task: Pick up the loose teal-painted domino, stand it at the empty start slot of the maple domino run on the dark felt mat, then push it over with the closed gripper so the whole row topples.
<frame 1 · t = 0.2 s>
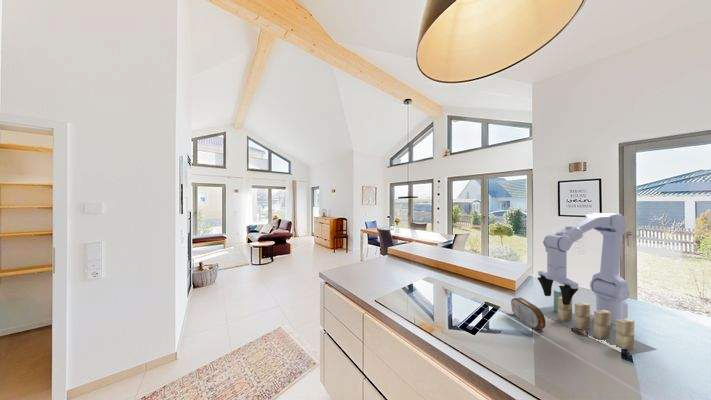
hand: (556, 299, 90), 10 cm above the worktop, fingers open, 7 cm apart
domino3: (582, 327, 88), resting on felt mat
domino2: (564, 319, 94), resting on felt mat
domino4: (602, 336, 82), resting on felt mat
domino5: (624, 347, 76), resting on felt mat
felt mat: (584, 327, 89), on the worktop
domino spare: (560, 310, 101), resting on felt mat
tin: (526, 323, 92), on the worktop
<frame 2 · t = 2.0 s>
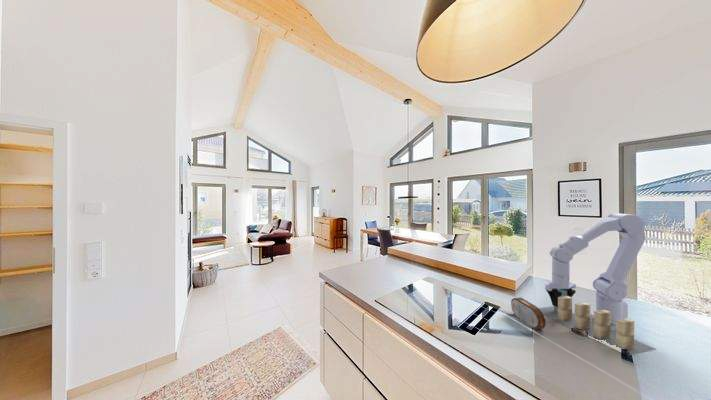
hand: (560, 305, 101), 3 cm above the worktop, fingers closed on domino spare, 5 cm apart
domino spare: (560, 310, 101), resting on felt mat, touching gripper
everything else where it was.
when the fingers open (3 cm above the worktop, at t = 5.2 s): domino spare stays where it is, resting on felt mat.
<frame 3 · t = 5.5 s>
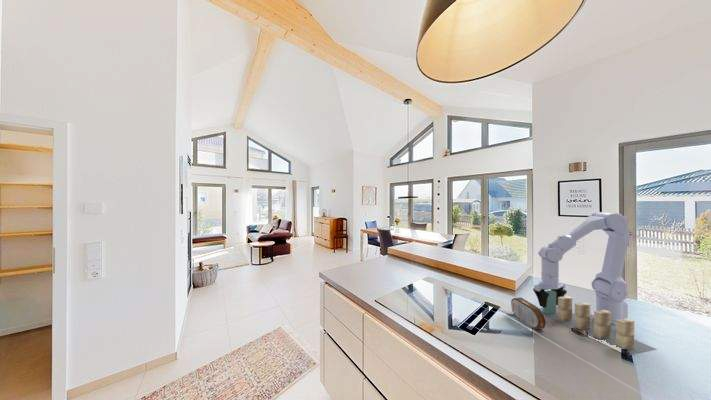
hand: (549, 305, 100), 3 cm above the worktop, fingers open, 7 cm apart
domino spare: (549, 312, 100), resting on felt mat
everything else where it was.
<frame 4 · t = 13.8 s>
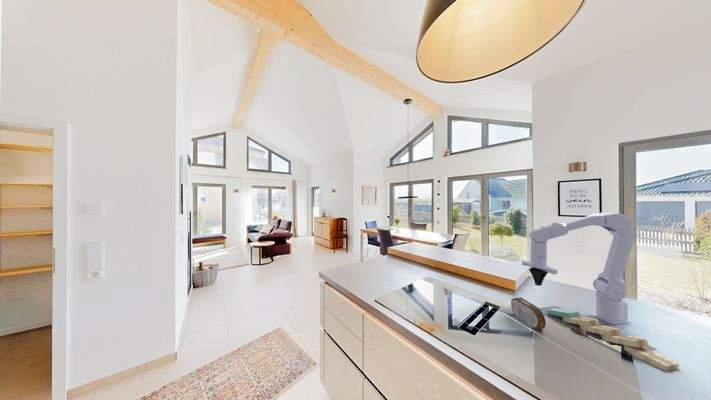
hand: (538, 285, 104), 10 cm above the worktop, fingers closed
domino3: (585, 326, 87), point 1 cm above the worktop, tilted 73°, touching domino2, domino4, felt mat
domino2: (567, 318, 93), point 1 cm above the worktop, tilted 73°, touching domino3, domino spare, felt mat
domino4: (607, 336, 81), point 1 cm above the worktop, tilted 71°, touching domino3, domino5, felt mat
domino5: (629, 346, 75), point 1 cm above the worktop, tilted 93°, touching domino4, felt mat
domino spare: (551, 311, 99), point 1 cm above the worktop, tilted 73°, touching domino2, felt mat
everything else where it was.
at the end: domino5 tilted 93°; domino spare tilted 73° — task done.
